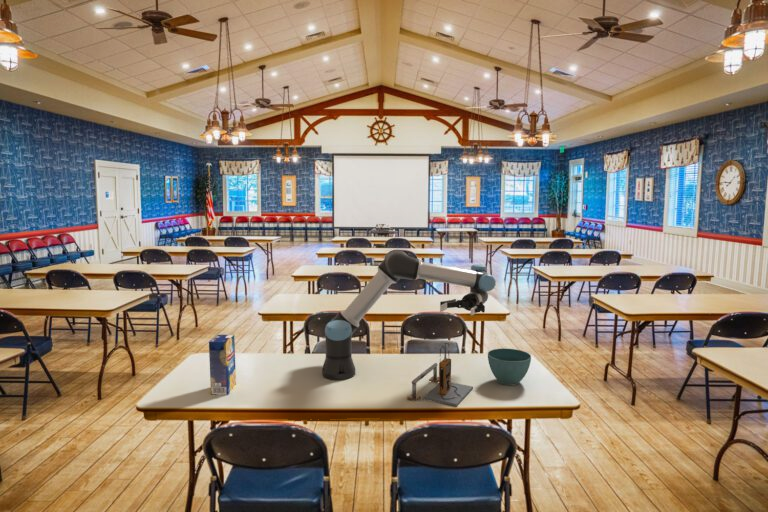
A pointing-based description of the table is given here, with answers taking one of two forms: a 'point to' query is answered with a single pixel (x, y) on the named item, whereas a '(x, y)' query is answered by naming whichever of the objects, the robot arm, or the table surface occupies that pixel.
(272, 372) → the table surface
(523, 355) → the teal bowl
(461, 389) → the mat
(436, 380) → the bent rod hurdle
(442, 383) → the multimeter
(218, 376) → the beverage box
